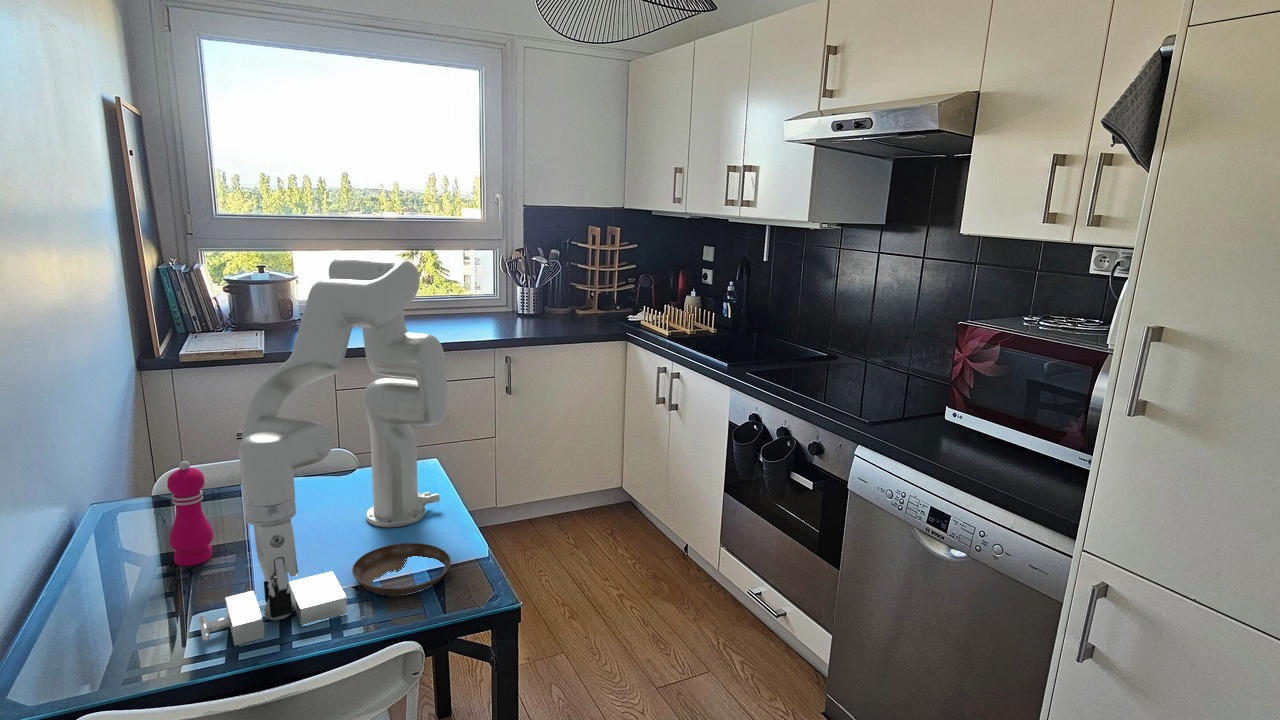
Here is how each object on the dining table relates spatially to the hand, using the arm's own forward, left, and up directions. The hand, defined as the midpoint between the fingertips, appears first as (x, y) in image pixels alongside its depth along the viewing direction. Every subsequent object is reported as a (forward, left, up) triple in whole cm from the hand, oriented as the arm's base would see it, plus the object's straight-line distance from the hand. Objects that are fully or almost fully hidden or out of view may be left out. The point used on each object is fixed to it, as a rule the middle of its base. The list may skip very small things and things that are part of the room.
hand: (278, 606), depth 123 cm
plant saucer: (-22, -3, -2) cm, 22 cm away
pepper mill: (+10, -30, -2) cm, 32 cm away
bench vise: (0, 0, -2) cm, 2 cm away
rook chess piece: (0, 0, -2) cm, 2 cm away
